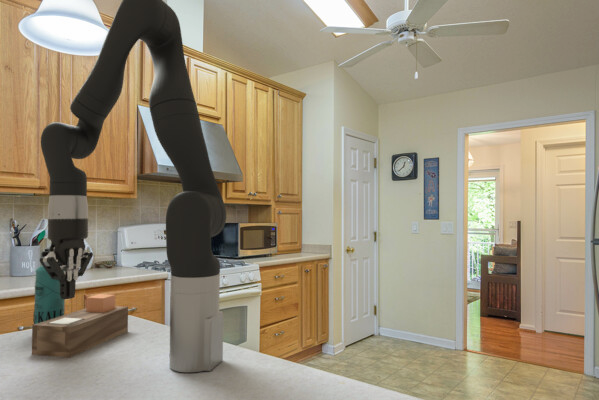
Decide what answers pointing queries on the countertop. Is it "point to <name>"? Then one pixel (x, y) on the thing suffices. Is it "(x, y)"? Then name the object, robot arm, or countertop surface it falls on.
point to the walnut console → (78, 332)
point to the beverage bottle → (47, 296)
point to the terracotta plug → (100, 303)
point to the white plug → (65, 321)
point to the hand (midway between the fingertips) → (67, 298)
